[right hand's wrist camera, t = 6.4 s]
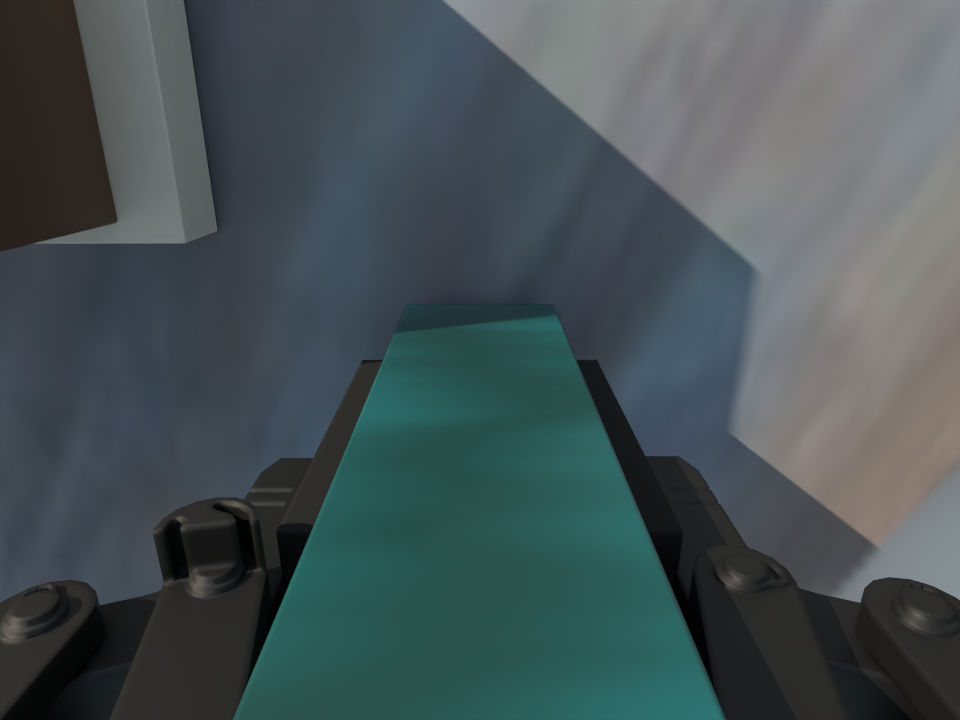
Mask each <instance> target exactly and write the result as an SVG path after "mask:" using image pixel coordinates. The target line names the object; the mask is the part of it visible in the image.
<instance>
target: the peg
mask: <svg viewBox="0 0 960 720" xmlns="http://www.w3.org/2000/svg"><path fill="white" fill-rule="evenodd" d="M233 720H726V717H725V715H724V712H723V710H722V708H721V705H720V703H719V700H718V698H717V696H716V693H715V691H714V688H713V686H712V684H711V681H710V679H709V676H708V674H707V672H706V669H705V667H704V664H703V662H702V660H701V657H700V655H699V652H698V650H697V648H696V645H695V643H694V640H693V638H692V636H691V633H690V631H689V629H688V626H687V624H686V621H685V619H684V617H683V614H682V612H681V609H680V607H679V605H678V602H677V600H676V597H675V595H674V593H673V590H672V588H671V585H670V583H669V581H668V578H667V576H666V573H665V571H664V569H663V566H662V564H661V561H660V559H659V557H658V554H657V552H656V549H655V547H654V545H653V542H652V540H651V537H650V535H649V533H648V530H647V528H646V525H645V523H644V521H643V518H642V516H641V514H640V511H639V509H638V506H637V504H636V502H635V499H634V497H633V494H632V492H631V490H630V487H629V485H628V482H627V480H626V478H625V475H624V473H623V470H622V468H621V466H620V463H619V461H618V458H617V456H616V454H615V451H614V449H613V446H612V444H611V442H610V439H609V437H608V434H607V432H606V430H605V427H604V425H603V422H602V420H601V418H600V415H599V413H598V410H597V408H596V406H595V403H594V401H593V399H592V396H591V394H590V391H589V389H588V387H587V384H586V382H585V379H584V377H583V375H582V372H581V370H580V367H579V365H578V363H577V360H576V358H575V355H574V353H573V351H572V348H571V346H570V343H569V341H568V339H567V336H566V334H565V331H564V329H563V327H562V324H561V322H560V319H559V317H558V315H557V312H556V310H555V307H554V305H552V304H408V305H406V306H405V309H404V311H403V314H402V316H401V318H400V321H399V323H398V326H397V328H396V330H395V333H394V335H393V338H392V340H391V342H390V345H389V347H388V350H387V352H386V354H385V357H384V359H383V361H382V364H381V366H380V369H379V371H378V373H377V376H376V378H375V381H374V383H373V385H372V388H371V390H370V393H369V395H368V397H367V400H366V402H365V405H364V407H363V409H362V412H361V414H360V416H359V419H358V421H357V424H356V426H355V428H354V431H353V433H352V436H351V438H350V440H349V443H348V445H347V448H346V450H345V452H344V455H343V457H342V459H341V462H340V464H339V467H338V469H337V471H336V474H335V476H334V479H333V481H332V483H331V486H330V488H329V491H328V493H327V495H326V498H325V500H324V503H323V505H322V507H321V510H320V512H319V514H318V517H317V519H316V522H315V524H314V526H313V529H312V531H311V534H310V536H309V538H308V541H307V543H306V546H305V548H304V550H303V553H302V555H301V558H300V560H299V562H298V565H297V567H296V569H295V572H294V574H293V577H292V579H291V581H290V584H289V586H288V589H287V591H286V593H285V596H284V598H283V601H282V603H281V605H280V608H279V610H278V613H277V615H276V617H275V620H274V622H273V624H272V627H271V629H270V632H269V634H268V636H267V639H266V641H265V644H264V646H263V648H262V651H261V653H260V656H259V658H258V660H257V663H256V665H255V668H254V670H253V672H252V675H251V677H250V679H249V682H248V684H247V687H246V689H245V691H244V694H243V696H242V699H241V701H240V703H239V706H238V708H237V711H236V713H235V715H234V718H233Z"/></svg>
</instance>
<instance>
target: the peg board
mask: <svg viewBox="0 0 960 720" xmlns="http://www.w3.org/2000/svg"><path fill="white" fill-rule="evenodd" d="M214 232H217V224H216V217H215V210H214V203H213V196H212V190H211V183H210V176H209V169H208V162H207V156H206V149H205V142H204V135H203V128H202V121H201V115H200V108H199V101H198V94H197V87H196V81H195V74H194V67H193V60H192V53H191V46H190V40H189V33H188V26H187V19H186V12H185V6H184V0H0V252H1V251H5V250H9V249H13V248H17V247H21V246H25V245H29V244H185V243H188V242H190V241H193V240H196V239H198V238H201V237H204V236H206V235H209V234H212V233H214Z"/></svg>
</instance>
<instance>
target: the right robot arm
mask: <svg viewBox="0 0 960 720" xmlns="http://www.w3.org/2000/svg"><path fill="white" fill-rule="evenodd" d="M382 361H383V360H363V361H362V363H361V365H360V367H359V369H358V371H357V373H356V375H355V377H354V379H353V381H352V383H351V385H350V387H349V389H348V391H347V392H346V394H345V396H344V398H343V400H342V402H341V404H340V406H339V408H338V410H337V412H336V414H335V416H334V418H333V420H332V422H331V424H330V426H329V428H328V430H327V432H326V434H325V436H324V438H323V440H322V442H321V444H320V446H319V448H318V450H317V452H316V454H315V456H314V458H281V459H280V460H278V461H277V462H275V463H274V464H273V465H271V466H270V467H268V468H267V469H266V470H264V471H263V472H261V474H260V475H259V477H258V479H257V480H256V482H255V483H254V485H253V486H252V488H251V492H249V493H248V494H247V496H246V497H245V499H244V500H241V499H238V498H213V499H208V500H203V501H198V502H195V503H192V504H190V505H187V506H185V507H182V508H180V509H177V510H176V511H174V512H173V513H171V514H170V515H168V516H167V517H165V518H164V519H162V521H161V522H160V523H159V524H158V525H157V527H156V528H155V529H154V530H153V536H154V540H155V544H156V549H157V553H158V558H159V562H160V567H161V571H162V575H163V580H164V585H163V587H162V590H161V591H159V592H155V593H152V594H148V595H145V596H141V597H137V598H132V599H127V600H123V601H118V602H114V603H109V604H105V605H99V601H98V597H97V594H96V591H95V590H94V589H93V588H92V587H91V586H89V585H88V584H87V583H84V582H78V581H73V580H67V581H57V582H49V583H46V584H42V585H39V586H35V587H32V588H29V589H27V590H25V591H22V592H20V593H18V594H16V595H14V596H12V597H10V598H8V599H6V600H4V601H3V602H2V603H0V720H233V718H234V715H235V713H236V711H237V708H238V706H239V703H240V701H241V699H242V696H243V694H244V691H245V689H246V687H247V684H248V682H249V679H250V677H251V675H252V672H253V670H254V668H255V665H256V663H257V660H258V658H259V656H260V653H261V651H262V648H263V646H264V644H265V641H266V639H267V636H268V634H269V632H270V629H271V627H272V624H273V622H274V620H275V617H276V615H277V613H278V610H279V608H280V605H281V603H282V601H283V598H284V596H285V593H286V591H287V589H288V586H289V584H290V581H291V579H292V577H293V574H294V572H295V569H296V567H297V565H298V562H299V560H300V558H301V555H302V553H303V550H304V548H305V546H306V543H307V541H308V538H309V536H310V534H311V531H312V529H313V526H314V524H315V522H316V519H317V517H318V514H319V512H320V510H321V507H322V505H323V503H324V500H325V498H326V495H327V493H328V491H329V488H330V486H331V483H332V481H333V479H334V476H335V474H336V471H337V469H338V467H339V464H340V462H341V459H342V457H343V455H344V452H345V450H346V448H347V445H348V443H349V440H350V438H351V436H352V433H353V431H354V428H355V426H356V424H357V421H358V419H359V416H360V414H361V412H362V409H363V407H364V405H365V402H366V400H367V397H368V395H369V393H370V390H371V388H372V385H373V383H374V381H375V378H376V376H377V373H378V371H379V369H380V366H381V364H382ZM577 363H578V365H579V367H580V370H581V372H582V375H583V377H584V379H585V382H586V384H587V387H588V389H589V391H590V394H591V396H592V399H593V401H594V403H595V406H596V408H597V410H598V413H599V415H600V418H601V420H602V422H603V425H604V427H605V430H606V432H607V434H608V437H609V439H610V442H611V444H612V446H613V449H614V451H615V454H616V456H617V458H618V461H619V463H620V466H621V468H622V470H623V473H624V475H625V478H626V480H627V482H628V485H629V487H630V490H631V492H632V494H633V497H634V499H635V502H636V504H637V506H638V509H639V511H640V514H641V516H642V518H643V521H644V523H645V525H646V528H647V530H648V533H649V535H650V537H651V540H652V542H653V545H654V547H655V549H656V552H657V554H658V557H659V559H660V561H661V564H662V566H663V569H664V571H665V573H666V576H667V578H668V581H669V583H670V585H671V588H672V590H673V593H674V595H675V597H676V600H677V602H678V605H679V607H680V609H681V612H682V614H683V617H684V619H685V621H686V624H687V626H688V629H689V631H690V633H691V636H692V638H693V640H694V643H695V645H696V648H697V650H698V652H699V655H700V657H701V660H702V662H703V664H704V667H705V669H706V672H707V674H708V676H709V679H710V681H711V684H712V686H713V688H714V691H715V693H716V696H717V698H718V700H719V703H720V705H721V708H722V710H723V712H724V715H725V717H726V720H960V600H958V599H957V598H956V597H954V596H952V595H950V594H947V593H945V592H943V591H941V590H939V589H937V588H935V587H933V586H930V585H927V584H925V583H920V582H917V581H913V580H910V579H900V578H890V577H889V578H884V579H878V580H874V581H872V582H871V583H870V584H869V585H868V586H867V587H866V588H865V589H864V592H863V596H862V599H861V603H858V602H853V601H849V600H844V599H840V598H835V597H830V596H826V595H821V594H817V593H813V592H810V591H806V590H803V589H800V588H798V586H797V584H796V582H795V580H794V579H793V577H792V576H791V574H790V573H789V571H788V570H787V569H786V568H785V567H783V566H782V565H781V564H779V563H778V562H777V561H776V560H774V559H773V558H771V557H769V556H767V555H765V554H762V553H760V552H758V551H756V550H753V549H749V548H748V547H747V546H746V544H745V543H744V541H743V539H742V538H741V536H740V535H739V533H738V532H737V530H736V528H735V527H734V525H733V524H732V522H731V521H730V519H729V517H728V516H727V514H726V513H725V511H724V510H723V508H722V507H721V505H720V504H718V500H717V499H716V497H715V496H714V494H713V492H712V491H711V490H709V486H708V485H707V483H706V481H705V480H704V478H703V477H702V475H701V474H700V472H699V471H698V470H697V469H696V468H694V467H693V466H691V465H690V464H689V463H687V462H686V461H684V460H683V459H682V458H680V457H679V456H645V455H644V453H643V451H642V449H641V447H640V445H639V443H638V441H637V439H636V437H635V435H634V433H633V431H632V429H631V427H630V425H629V423H628V421H627V419H626V417H625V415H624V413H623V411H622V409H621V407H620V405H619V403H618V401H617V399H616V397H615V395H614V393H613V391H612V389H611V387H610V385H609V383H608V381H607V379H606V377H605V375H604V373H603V371H602V369H601V367H600V366H599V364H598V362H597V360H577Z"/></svg>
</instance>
